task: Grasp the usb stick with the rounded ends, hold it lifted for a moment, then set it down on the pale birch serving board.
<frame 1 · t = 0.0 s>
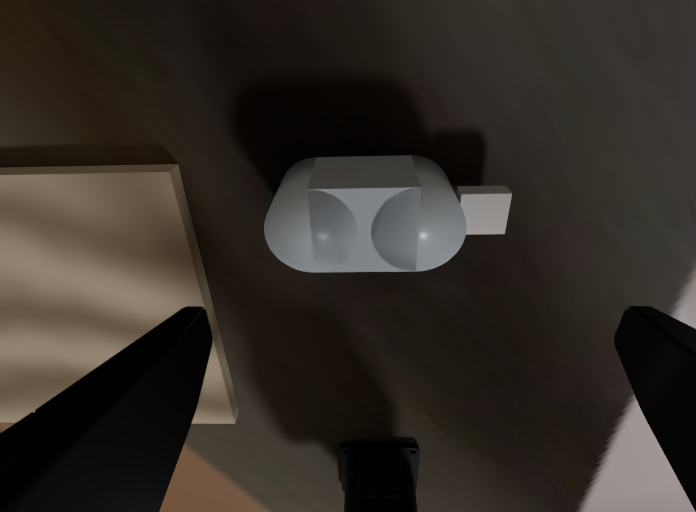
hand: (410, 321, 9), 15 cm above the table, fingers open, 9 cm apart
birch board: (67, 311, 28), on the table
usb stick: (364, 194, 24), on the table
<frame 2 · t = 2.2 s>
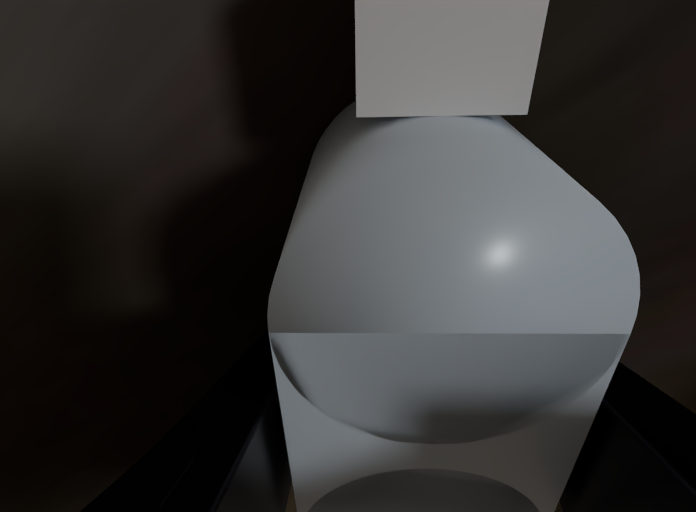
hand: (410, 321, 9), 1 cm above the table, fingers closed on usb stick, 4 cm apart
usb stick: (405, 288, 10), on the table, touching gripper
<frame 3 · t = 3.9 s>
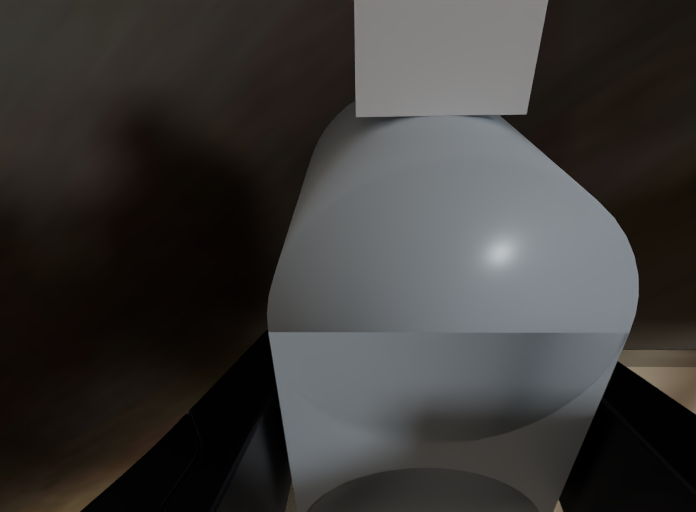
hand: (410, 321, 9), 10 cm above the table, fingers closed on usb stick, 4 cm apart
birch board: (504, 463, 28), on the table
usb stick: (405, 288, 10), point 8 cm above the table, touching gripper
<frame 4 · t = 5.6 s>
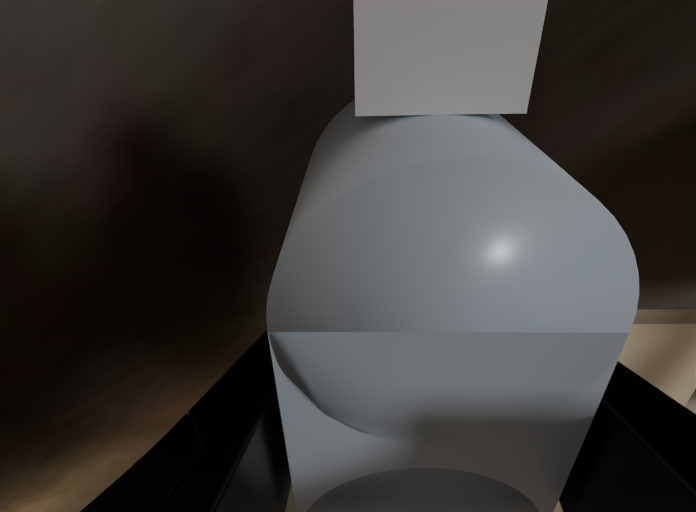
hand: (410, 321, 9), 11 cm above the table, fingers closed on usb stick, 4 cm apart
birch board: (494, 430, 28), on the table
usb stick: (405, 287, 10), point 10 cm above the table, touching gripper
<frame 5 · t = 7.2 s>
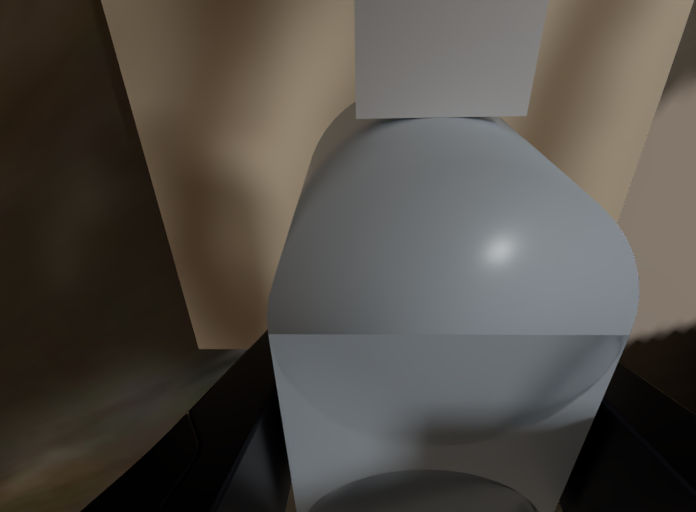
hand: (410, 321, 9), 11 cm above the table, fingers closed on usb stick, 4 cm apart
birch board: (386, 160, 18), on the table
usb stick: (405, 289, 10), point 10 cm above the table, touching gripper
when the fingers open (3 cm above the table, at t = 8.9 s): usb stick stays where it is, resting on birch board.
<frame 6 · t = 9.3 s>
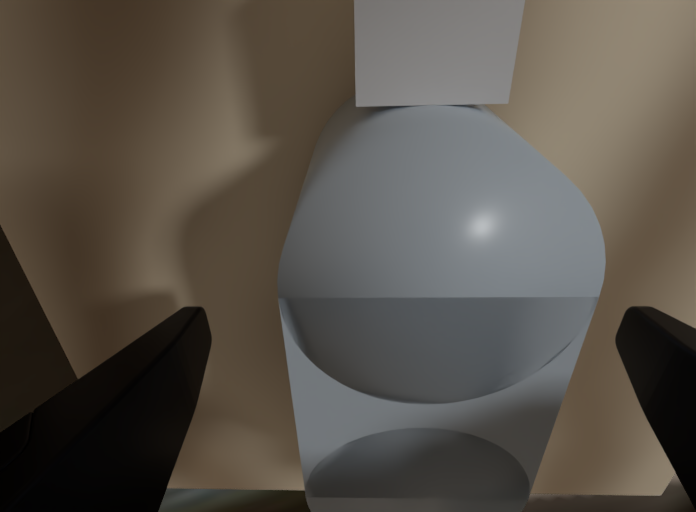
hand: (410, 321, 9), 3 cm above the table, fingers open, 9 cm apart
birch board: (399, 248, 12), on the table
usb stick: (402, 272, 11), point 1 cm above the table, touching birch board
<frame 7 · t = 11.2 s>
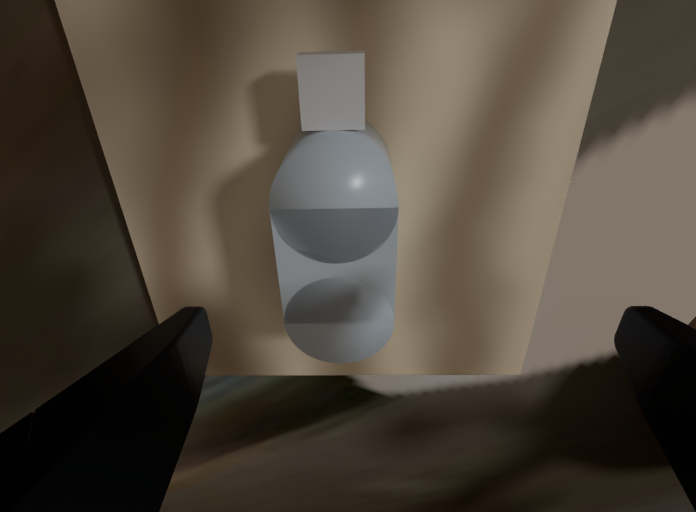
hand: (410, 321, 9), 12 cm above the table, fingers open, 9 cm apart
birch board: (341, 208, 20), on the table
usb stick: (340, 218, 19), point 1 cm above the table, touching birch board
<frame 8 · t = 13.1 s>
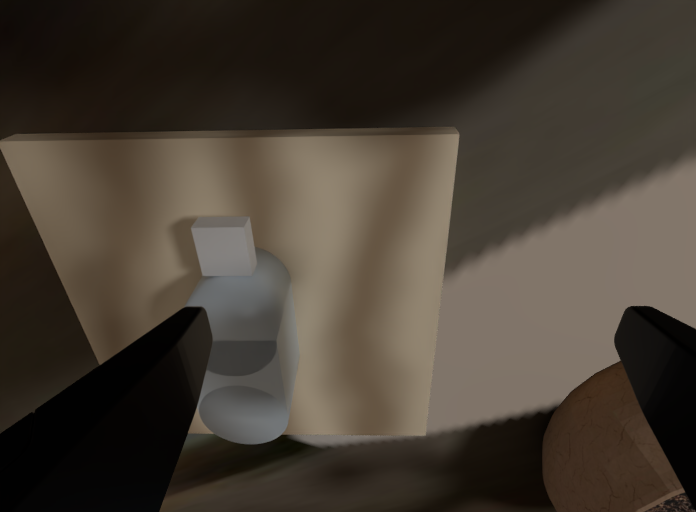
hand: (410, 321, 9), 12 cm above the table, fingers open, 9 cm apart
birch board: (260, 305, 24), on the table
usb stick: (255, 319, 23), point 1 cm above the table, touching birch board
potted plant: (620, 437, 30), on the table
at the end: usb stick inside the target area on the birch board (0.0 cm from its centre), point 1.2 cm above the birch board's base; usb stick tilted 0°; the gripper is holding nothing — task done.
